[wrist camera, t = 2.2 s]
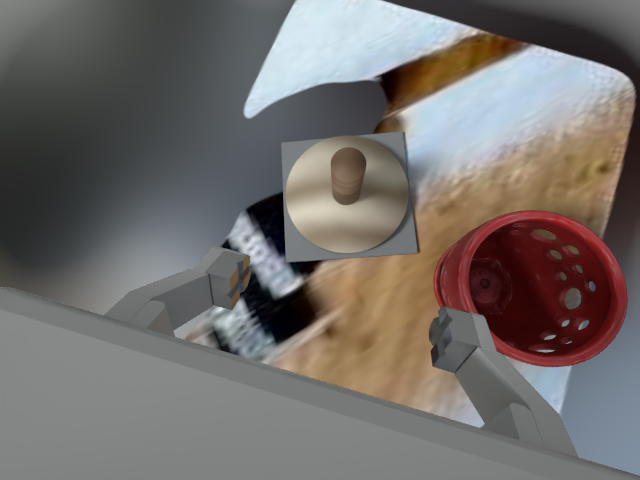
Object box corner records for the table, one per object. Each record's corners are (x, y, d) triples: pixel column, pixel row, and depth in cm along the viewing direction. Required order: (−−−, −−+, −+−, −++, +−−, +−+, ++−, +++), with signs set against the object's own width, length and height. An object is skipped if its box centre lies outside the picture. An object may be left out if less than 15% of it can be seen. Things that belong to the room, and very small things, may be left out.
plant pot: (479, 214, 36) (548, 178, 24) (552, 298, 33) (669, 305, 22) (399, 273, 35) (429, 266, 23) (468, 363, 33) (540, 405, 21)
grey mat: (416, 253, 35) (417, 253, 35) (286, 262, 36) (286, 262, 36) (401, 133, 38) (402, 131, 38) (281, 144, 39) (281, 142, 39)
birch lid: (413, 249, 35) (440, 235, 26) (289, 258, 36) (272, 247, 27) (399, 135, 38) (419, 85, 28) (284, 145, 39) (267, 100, 29)
